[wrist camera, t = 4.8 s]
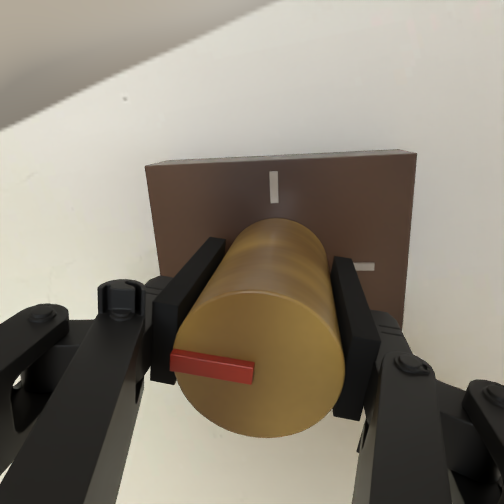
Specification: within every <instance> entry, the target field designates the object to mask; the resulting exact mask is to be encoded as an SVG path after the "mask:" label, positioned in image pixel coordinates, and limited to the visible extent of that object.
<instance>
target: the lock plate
mask: <svg viewBox="0 0 504 504" xmlns="http://www.w3.org/2000/svg"><path fill="white" fill-rule="evenodd" d="M416 160H417V153H413V152H409V151H404V150H399V149H397V150H376V151H355V152H334V153H314V154H293V155H272V156H252V157H231V158H210V159H189V160H169V161H164V162H159V163H155V164H150V165H146V166H145V171H146V178H147V185H148V192H149V199H150V206H151V213H152V220H153V227H154V234H155V240H156V247H157V254H158V261H159V268H160V275H161V276H167V277H173V278H174V276H175V275H176V274H177V273H178V272H179V271H180V270H181V269H182V267H183V266H184V265H185V264H186V263H187V262H188V261H189V260H190V258H191V257H192V256H193V255H194V254H195V253H196V252H197V250H198V249H199V248H200V247H201V246H202V245H203V244H204V243H205V241H206V240H207V239H208V238H209V237H215V238H222V239H226V245H225V255H226V253H227V252H228V250H229V248H230V247H231V245H232V244H233V242H234V241H235V239H236V237H237V236H238V235H239V234H240V233H241V232H242V231H243V230H244V229H245V228H247V227H248V226H250V225H252V224H254V223H256V222H258V221H261V220H265V219H272V218H281V219H287V220H291V221H295V222H297V223H299V224H301V225H303V226H305V227H306V228H308V229H309V230H310V231H311V232H313V233H314V234H315V235H316V237H317V238H318V239H319V241H320V242H321V243H322V245H323V247H324V249H325V252H326V255H327V261H328V267H329V273H330V274H331V269H332V264H333V259H334V256H338V257H344V258H351V259H352V261H353V264H354V267H355V269H356V272H357V275H358V278H359V280H360V283H361V286H362V289H363V292H364V294H365V297H366V300H367V303H368V305H369V308H370V309H371V310H377V311H383V312H388V313H389V314H390V315H391V316H392V317H393V318H394V319H396V320H397V322H398V324H399V326H400V328H401V329H400V330H401V331H402V324H403V313H404V301H405V289H406V277H407V266H408V254H409V242H410V230H411V219H412V207H413V195H414V183H415V172H416Z"/></svg>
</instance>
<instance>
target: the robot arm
mask: <svg viewBox="0 0 504 504" xmlns="http://www.w3.org/2000/svg"><path fill="white" fill-rule="evenodd" d="M225 245H226V239H222V238H215V237H209V238H208V239H207V240H206V241H205V243H204V244H203V245H202V246H201V247H200V248H199V249H198V250H197V252H196V253H195V254H194V255H193V256H192V257H191V258H190V260H189V261H188V262H187V263H186V264H185V265H184V266H183V267H182V269H181V270H180V271H179V272H178V273H177V274H176V275H175V276H174V278H173V277H167V276H161V275H160V276H158V277H156V278H153V279H151V280H149V281H148V282H147V283H146V284H145V285H143V284H142V283H140V282H138V281H135V280H128V279H118V280H112V281H108V282H105V283H103V284H101V285H100V286H99V287H98V315H97V316H96V318H95V319H94V320H69V313H68V310H67V309H66V308H65V307H64V306H60V305H57V304H38V305H36V306H32V307H28V308H26V309H24V310H22V311H20V312H18V313H17V314H15V315H14V316H12V317H11V318H9V319H8V320H6V321H5V322H3V323H1V324H0V475H1V474H2V473H3V472H4V471H5V470H6V469H7V467H8V466H9V465H10V464H11V463H12V462H13V463H12V464H11V466H10V468H9V470H8V471H7V473H6V475H5V477H4V478H3V480H2V482H1V484H0V504H115V503H116V499H117V495H118V491H119V487H120V483H121V479H122V475H123V471H124V467H125V463H126V459H127V455H128V451H129V447H130V443H131V439H132V434H133V430H134V426H135V422H136V418H137V414H138V410H139V406H140V402H141V398H142V394H143V390H144V375H145V374H146V372H147V371H148V369H149V367H150V366H151V371H150V381H156V382H161V383H166V384H171V385H174V384H175V382H176V380H177V379H176V376H175V372H174V371H170V354H171V352H172V350H173V345H174V341H175V337H176V334H177V332H178V330H179V328H180V326H181V324H182V323H183V321H184V320H185V318H186V316H187V315H188V313H189V312H190V310H191V308H192V307H193V305H194V304H195V302H196V301H197V299H198V297H199V296H200V294H201V293H202V291H203V289H204V288H205V286H206V285H207V283H208V282H209V280H210V278H211V277H212V275H213V274H214V272H215V271H216V269H217V267H218V266H219V264H220V263H221V261H222V259H223V258H224V256H225ZM330 278H331V284H332V290H333V296H334V302H335V307H336V313H337V319H338V325H339V331H340V336H341V342H342V348H343V354H344V360H345V380H344V385H343V388H342V392H341V394H340V396H339V398H338V400H337V402H336V404H335V405H334V406H333V416H335V417H340V418H345V419H350V420H355V421H360V417H361V414H362V410H363V406H364V410H365V414H366V420H365V423H364V427H363V430H362V434H361V437H360V441H359V444H358V448H357V452H358V453H359V457H358V464H357V471H356V478H355V485H354V492H353V499H352V504H452V503H453V504H504V386H502V385H501V384H499V383H496V382H491V381H487V380H473V381H470V383H469V385H468V388H467V390H466V391H464V390H461V389H459V388H456V387H453V386H451V385H448V384H445V383H443V382H441V381H438V380H437V379H435V373H434V371H433V369H432V367H431V366H430V365H429V364H428V363H427V362H426V361H424V360H422V359H421V358H419V357H417V356H415V355H413V354H412V351H411V349H410V347H409V345H408V343H407V341H406V339H405V337H404V335H403V333H402V331H401V330H400V329H401V328H400V326H399V324H398V322H397V320H396V319H394V318H393V317H392V316H391V315H390V314H389V313H388V312H383V311H377V310H371V309H370V308H369V305H368V303H367V300H366V297H365V294H364V292H363V289H362V286H361V283H360V280H359V278H358V275H357V272H356V269H355V267H354V264H353V261H352V259H351V258H344V257H338V256H334V259H333V264H332V269H331V274H330ZM19 375H21V381H19V382H18V383H17V384H16V385H15V386H13V384H14V382H15V380H16V379H17V378H18V376H19ZM13 460H14V461H13Z"/></svg>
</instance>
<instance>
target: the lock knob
mask: <svg viewBox="0 0 504 504" xmlns="http://www.w3.org/2000/svg"><path fill="white" fill-rule="evenodd" d="M170 371H174V372H175V376H176V379H177V382H178V384H179V386H180V388H181V390H182V392H183V394H184V395H185V397H186V398H187V400H188V401H189V402H190V403H191V404H192V406H193V407H194V408H195V409H196V410H197V411H198V412H199V413H200V414H202V415H203V416H204V417H206V418H207V419H208V420H210V421H211V422H213V423H214V424H216V425H218V426H220V427H222V428H224V429H226V430H228V431H231V432H234V433H237V434H241V435H245V436H250V437H257V438H276V437H283V436H289V435H292V434H296V433H299V432H301V431H303V430H306V429H308V428H310V427H311V426H313V425H315V424H316V423H318V422H319V421H320V420H321V419H323V418H324V417H325V416H326V415H327V414H328V413H329V412H330V411H331V409H332V408H333V406H334V405H335V404H336V402H337V400H338V398H339V396H340V394H341V392H342V388H343V385H344V380H345V360H344V354H343V348H342V342H341V336H340V331H339V325H338V319H337V313H336V307H335V302H334V296H333V290H332V284H331V278H330V273H329V267H328V261H327V255H326V252H325V249H324V247H323V245H322V243H321V242H320V241H319V239H318V238H317V237H316V235H315V234H314V233H313V232H311V231H310V230H309V229H308V228H306V227H305V226H303V225H301V224H299V223H297V222H295V221H291V220H287V219H281V218H272V219H265V220H261V221H258V222H256V223H254V224H252V225H250V226H248V227H247V228H245V229H244V230H243V231H242V232H241V233H240V234H239V235H238V236H237V237H236V239H235V241H234V242H233V244H232V245H231V247H230V248H229V250H228V252H227V253H226V255H225V256H224V258H223V259H222V261H221V263H220V264H219V266H218V267H217V269H216V271H215V272H214V274H213V275H212V277H211V278H210V280H209V282H208V283H207V285H206V286H205V288H204V289H203V291H202V293H201V294H200V296H199V297H198V299H197V301H196V302H195V304H194V305H193V307H192V308H191V310H190V312H189V313H188V315H187V316H186V318H185V320H184V321H183V323H182V324H181V326H180V328H179V330H178V332H177V334H176V337H175V341H174V345H173V350H172V352H171V354H170Z"/></svg>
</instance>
